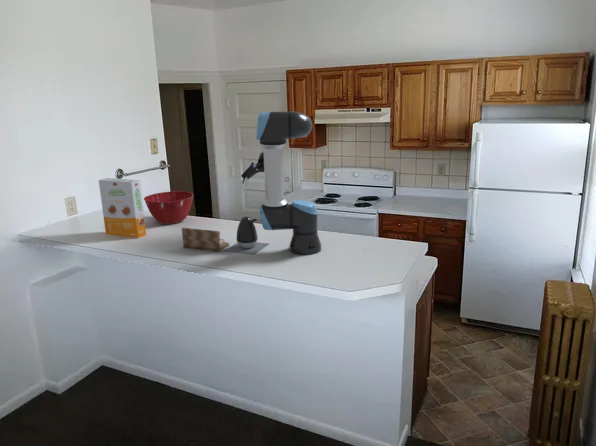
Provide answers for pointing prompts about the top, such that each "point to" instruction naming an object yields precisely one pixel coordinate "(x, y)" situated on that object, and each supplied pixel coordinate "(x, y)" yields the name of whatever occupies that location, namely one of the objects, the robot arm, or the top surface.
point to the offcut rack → (203, 240)
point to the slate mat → (247, 250)
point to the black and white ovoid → (247, 233)
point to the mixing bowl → (169, 206)
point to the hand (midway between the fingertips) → (255, 190)
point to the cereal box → (122, 207)
